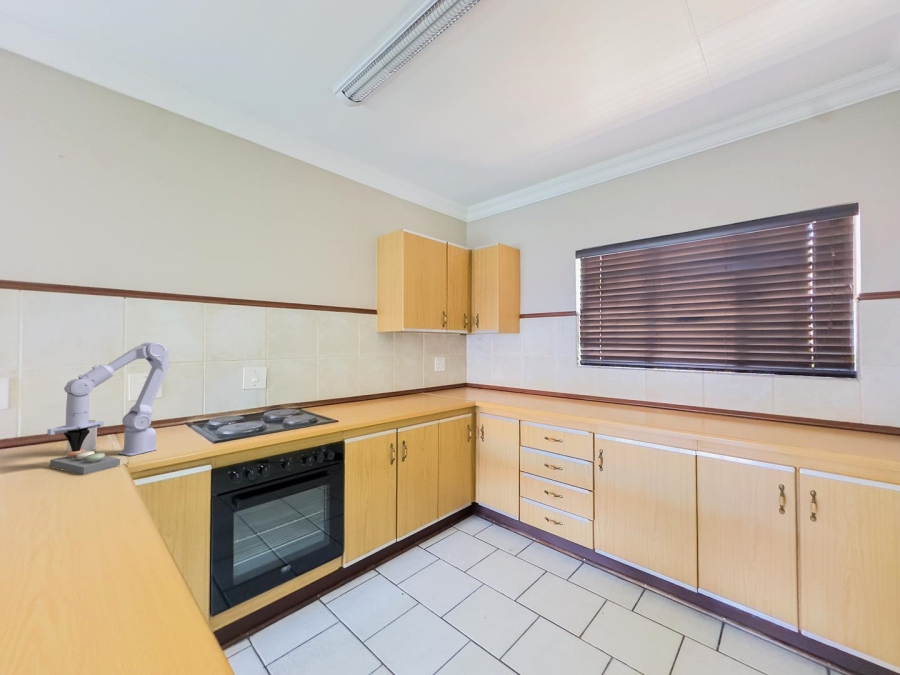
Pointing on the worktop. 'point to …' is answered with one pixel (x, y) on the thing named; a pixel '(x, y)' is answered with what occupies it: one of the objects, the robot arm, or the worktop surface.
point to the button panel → (83, 465)
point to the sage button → (95, 458)
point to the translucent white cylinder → (88, 440)
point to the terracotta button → (74, 453)
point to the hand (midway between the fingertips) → (75, 450)
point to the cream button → (84, 455)
